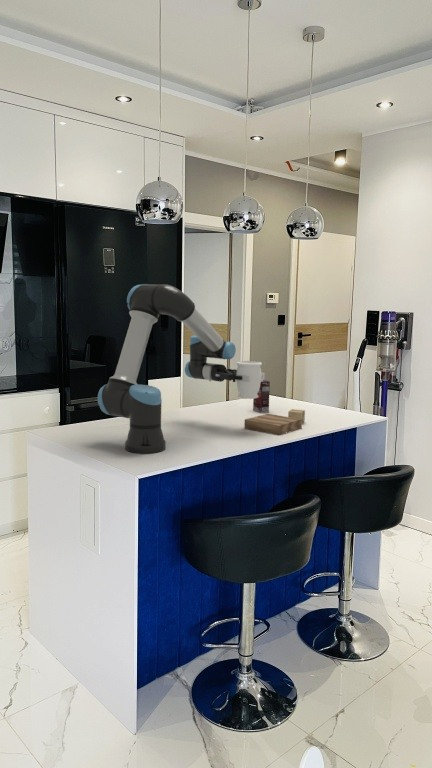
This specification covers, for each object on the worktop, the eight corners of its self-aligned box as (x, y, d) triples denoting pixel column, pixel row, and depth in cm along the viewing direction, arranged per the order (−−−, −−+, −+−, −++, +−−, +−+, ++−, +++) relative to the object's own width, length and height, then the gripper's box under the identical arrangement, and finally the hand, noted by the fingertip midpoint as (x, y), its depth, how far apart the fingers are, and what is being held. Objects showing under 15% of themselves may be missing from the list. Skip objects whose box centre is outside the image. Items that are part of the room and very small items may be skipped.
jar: (240, 400, 249) (241, 363, 247) (232, 395, 259) (233, 361, 256) (264, 399, 252) (265, 363, 250) (255, 395, 262) (256, 360, 259)
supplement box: (252, 410, 304) (253, 379, 302) (260, 409, 306) (261, 378, 304) (260, 413, 297) (261, 381, 294) (269, 412, 299) (270, 381, 296)
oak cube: (300, 425, 271) (301, 412, 270) (288, 424, 273) (288, 411, 272) (304, 423, 276) (304, 410, 276) (291, 421, 279) (292, 409, 278)
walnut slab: (279, 435, 251) (279, 425, 251) (244, 428, 262) (244, 419, 262) (301, 428, 265) (301, 419, 265) (267, 422, 276) (267, 413, 276)
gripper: (230, 378, 274) (271, 383, 260) (198, 383, 257) (240, 389, 243) (230, 361, 273) (272, 366, 259) (198, 366, 256) (241, 370, 242)
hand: (256, 377), depth 251 cm, fingers closed on jar, 10 cm apart
